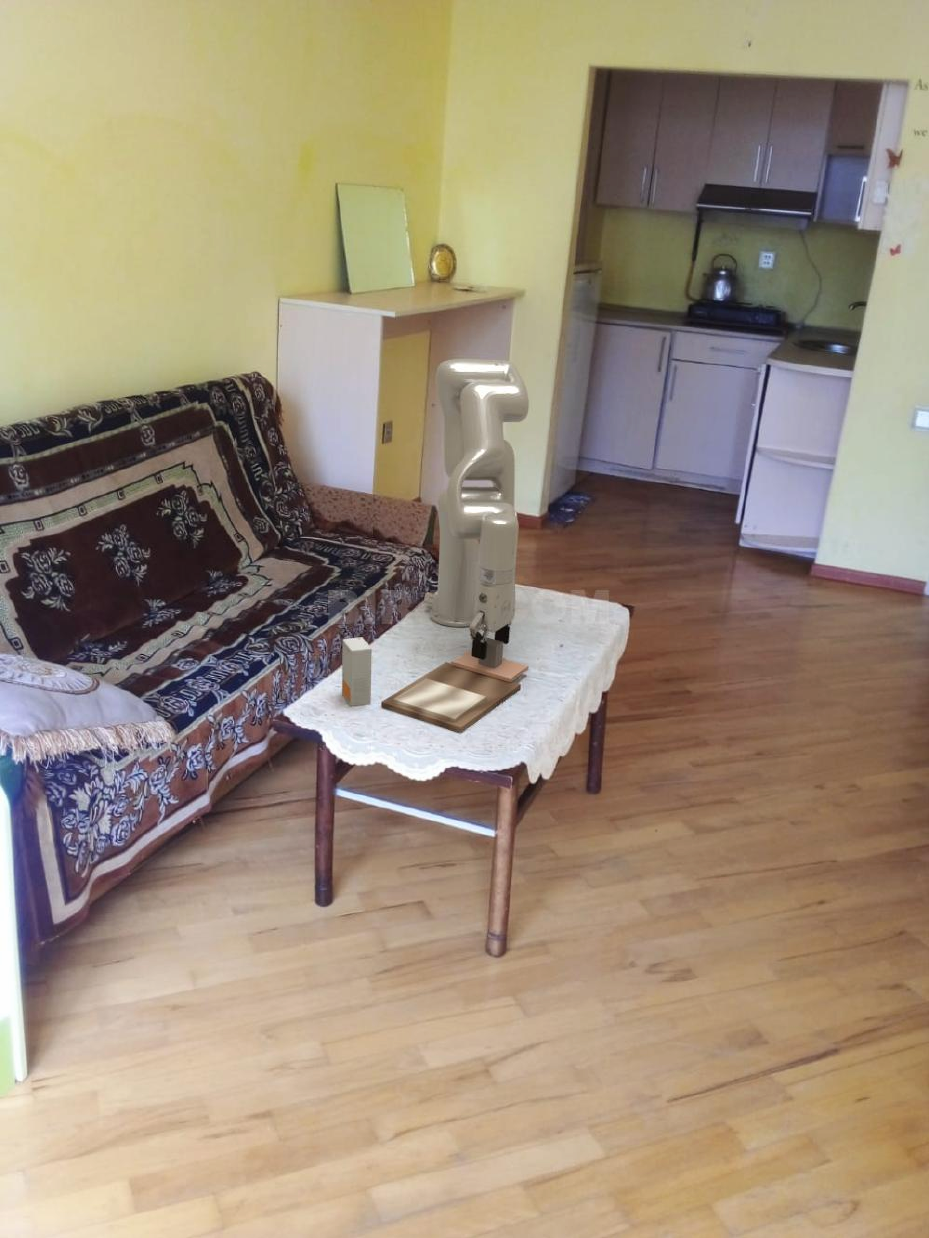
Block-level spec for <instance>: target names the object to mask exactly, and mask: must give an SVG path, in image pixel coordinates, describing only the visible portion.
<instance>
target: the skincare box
mask: <svg viewBox="0 0 929 1238" xmlns="http://www.w3.org/2000/svg"><path fill="white" fill-rule="evenodd" d="M372 650H373V649H372V648H371V646H370V645H369V643H368V642H367V641H366V640H365V639H364V637H363V636H362V637H353V638H344V639H342V655H341V657H342V659H341V661H342V664H341V666H342V667H341V668H342V669H341V671H342V672H341V674H342V675H341V676H342V677H341V695H342V696H343V697H344V698H345V700H346V701H347V703H348V704H349V705H350V707H356V706H365V705H370V704H371V699H372V697H371V695H372V693H371V692H372V689H371V688H372V654H373V653H372Z"/></svg>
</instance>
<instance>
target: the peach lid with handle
mask: <svg viewBox="0 0 929 1238" xmlns="http://www.w3.org/2000/svg"><path fill="white" fill-rule="evenodd" d="M485 641H486V642H487V652H486V659H484V660H482V659H479V658H475V657H472V655H471V653H472V649H470V650H468V651H467V652H465V653H464V654H462V655H460V656H459V657H457V658H455V659H453V660H452V661H451V664H452V665H453V666H456V667H460V668H463V669H466V670H470V671H473V672H477V673H480V674H484V675H487V676H490V677H494V678H497V679H501V680H504V681H507V682H511V681H512V682H514V680H515V679H517V678H519V677H520V676H521V675H522V674H524V673H526V672H527V671H528V670H529V665H527V664H522V663H520V662H519V663H518V662H516V661H512V660H509V659H505V658H503V656H504V655H503V653H504V644H503V642H502V641H498V640H495V638H492V637H491V638H490V637H487V638H486V640H485Z"/></svg>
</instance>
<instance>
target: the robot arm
mask: <svg viewBox="0 0 929 1238" xmlns="http://www.w3.org/2000/svg"><path fill="white" fill-rule="evenodd" d="M436 369H437V370H436V374H435V389H436V395H437V398H438V402H439V405H440V408H441V411H442V415H443V423H444V424H443V426H444V427H443V431H444V432H443V442H444V443H443V456H444V457H443V462H444V470H445V474H446V475H447V477H448V478H449V480H448V484H447V488H446V489H445V490H443V491H442V492H440V495H439V496H438V498H437V513H438V514H437V515H438V525H439V553H438V554H439V556H438V557H439V558H438V577H437V594H435V593H433V592H428V591H426V593H425V594H424V598H423V603H424V604H427V605H431V606H432V608H431V609H430V610H429V617H430V619H431V620H432V621H433V622H435V623H437V624H440V625H442V626H446V627H457V628H458V627H459V628H461V627H463V628H464V627H465V628H466V627H468V628H469V631H470V632H469V633H470V639H471V640H472V642H471V650H472V653H471V655H472V657H475V658H479V659H482V660H484V659H486V652H487V642H486V641H485V640H486V638H488V636H489V633H494V640H498V641H502V642H503V645H508V644H509V642H510V633H511V625H512V621H513V620H514V619H515V609H516V583H515V575H516V574H515V573H516V564H517V563H516V562H517V560H516V559H517V551H518V549H517V548H518V539H519V537H518V536H519V527H520V526H519V521H518V513H517V511H516V510H515V480H516V478H515V476H516V475H515V472H516V469H515V467H516V465H515V462H516V461H515V454H514V450H513V446H512V444H511V443H510V442H509V441H508V440H506V439H505V438H504V431H503V430H504V428H503V425H504V424H503V423H521V422H523V421H524V420H525V419H526V418H527V416H528V412H529V407H530V403H529V401H530V400H529V395H528V390H527V387H526V385H525V382H524V381H523V380H524V379H522V376H521V374H520V373H519V372H520V371H518V369H517V367H516V365H515V364H514V363H513V362H512V361H509V360H506V359H505V360H504V359H478V358H457V359H456V358H454V359H448V360H445V361H443V362H441V363H440V364H439V365H438V366H437V368H436ZM465 481H469V482H470V481H473V482H475V481H479V482H480V481H482V482H483V481H485V482H486V481H488V482H489V481H490V482H491V483H492V486H463V483H464V482H465ZM478 540H479V541H478ZM479 631H483V633H481V632H479Z"/></svg>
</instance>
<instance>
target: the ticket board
mask: <svg viewBox="0 0 929 1238" xmlns="http://www.w3.org/2000/svg"><path fill="white" fill-rule="evenodd" d="M521 688H522V684H521V683H518V682H515V681H511V682H507V681H504V680H501V679H497V678H494V677H490V676H487V675H484V674H480V673H477V672H473V671H470V670H466V669H463V668H460V667H456V666H453V665H452V662H448V661H447V662H443V663H442V664H440V665H438V667H437V666H436V668H434V669H432V670H430V671H429V672H427V673H426V674H424V675H423V676H421V677H420V678H417V679H416V680H414V681H413V682H411V683H410V684H408V685H407V686H404V687H403V688H401V689H400V690H398V691H397V692H395V693H393V694H392V695H390V696H389V697H387V698H386V699H383V700H382V701H381V703H380V705H381V706H380V707H381V709H385V710H388V711H391V712H394V713H397V714H400V715H403V716H407V717H409V718H413V719H416V720H419V721H422V722H425V723H428V724H430V725H434V726H437V727H439V728H440V727H441V728H444V729H446V730H449V731H452V732H455V733H459V734H462V733H463V732H464V731H466V730H467V729H468V728H470V727H471V726H473V725H474V724H475V723H476V722H478V721H479V720H481V719H482V718H483V717H485V716H486V715H488V714H489V713H490V712H492V711H493V710H494V709H496V708H497V707H498V706H500V705H501V704H503V703H504V702H505V701H507V700H508V699H510V698H511V697H512V696H513V695H515V694H516V693H518V692H519V691H520V690H521Z"/></svg>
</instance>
